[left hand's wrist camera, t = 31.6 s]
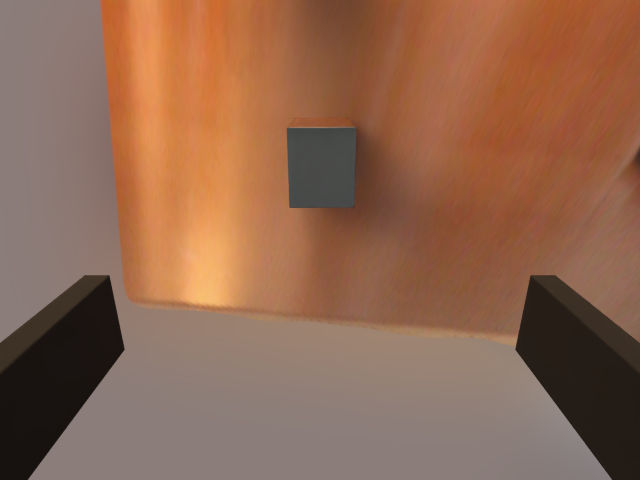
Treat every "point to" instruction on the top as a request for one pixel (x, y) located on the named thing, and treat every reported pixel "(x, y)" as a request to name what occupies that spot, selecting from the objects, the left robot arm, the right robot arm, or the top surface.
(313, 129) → the brick
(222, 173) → the top surface
